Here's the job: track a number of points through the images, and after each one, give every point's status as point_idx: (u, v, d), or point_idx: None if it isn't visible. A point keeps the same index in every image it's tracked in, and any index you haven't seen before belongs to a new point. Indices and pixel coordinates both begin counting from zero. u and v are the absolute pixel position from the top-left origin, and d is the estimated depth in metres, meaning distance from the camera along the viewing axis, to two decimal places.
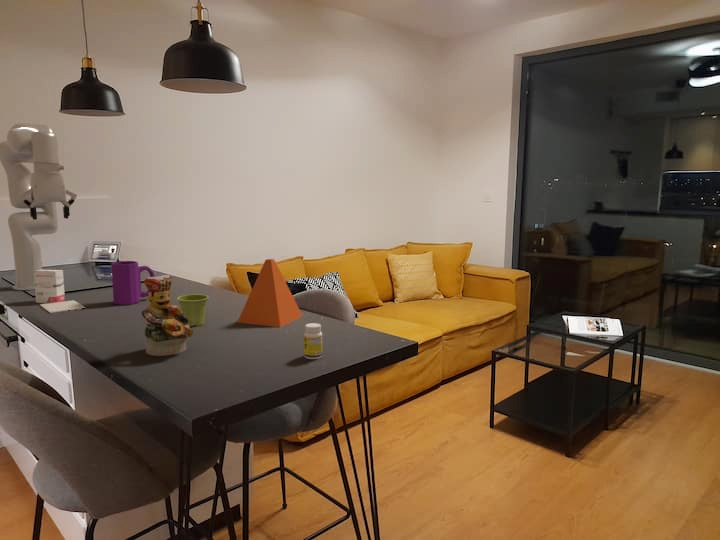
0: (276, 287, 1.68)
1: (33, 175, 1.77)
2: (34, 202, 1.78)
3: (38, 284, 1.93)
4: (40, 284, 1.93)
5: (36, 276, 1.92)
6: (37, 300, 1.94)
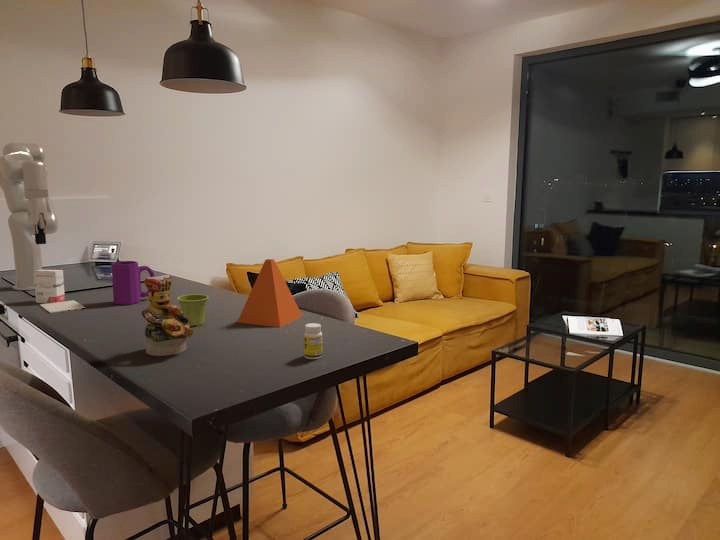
0: (276, 287, 1.68)
1: (43, 201, 1.94)
2: None
3: (38, 284, 1.93)
4: (40, 284, 1.93)
5: (36, 276, 1.92)
6: (37, 300, 1.94)
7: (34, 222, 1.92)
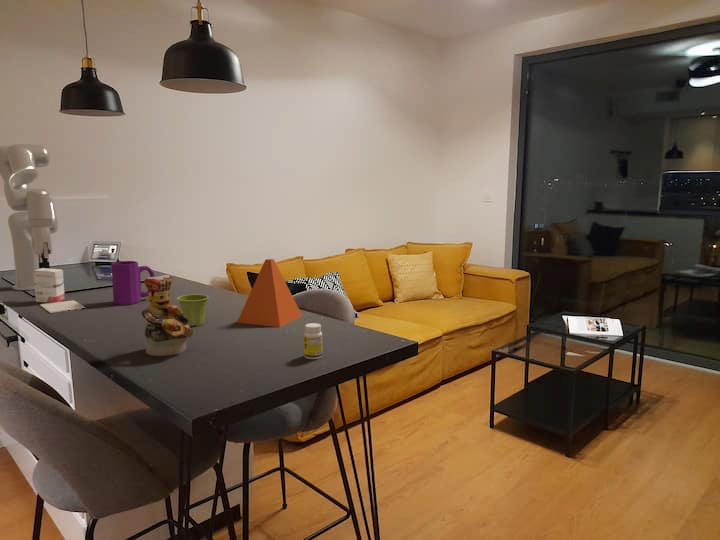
0: (275, 287, 1.68)
1: (47, 230, 1.93)
2: None
3: (38, 284, 1.92)
4: (40, 283, 1.92)
5: (36, 276, 1.92)
6: (37, 299, 1.94)
7: (38, 252, 1.92)
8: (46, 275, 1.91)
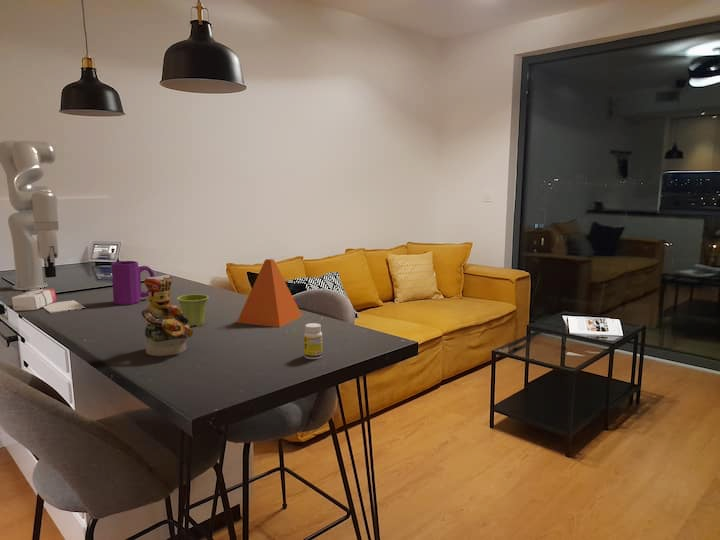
0: (275, 287, 1.68)
1: (53, 233, 1.87)
2: None
3: None
4: None
5: None
6: None
7: (44, 256, 1.86)
8: None
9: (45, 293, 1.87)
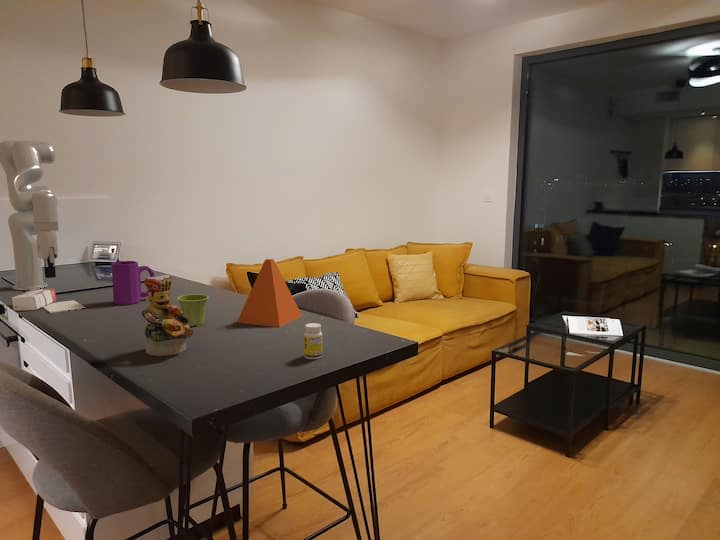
0: (275, 287, 1.68)
1: (53, 234, 1.87)
2: None
3: None
4: None
5: None
6: None
7: (44, 256, 1.86)
8: None
9: (45, 293, 1.87)
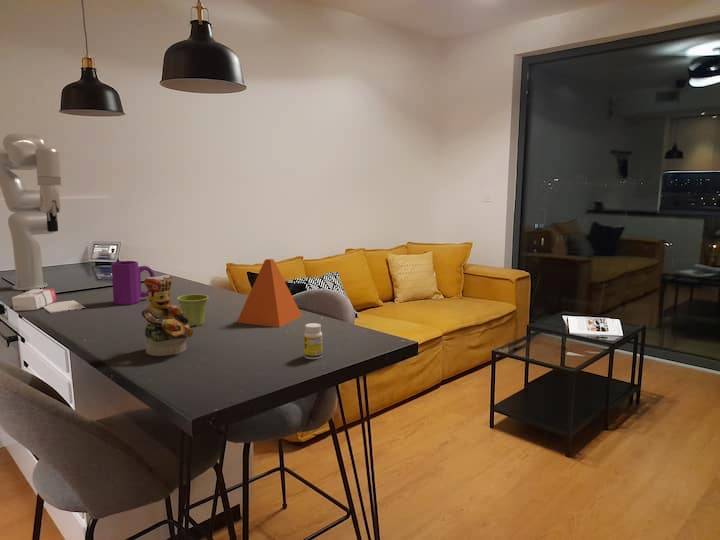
0: (275, 287, 1.68)
1: (56, 188, 1.93)
2: None
3: None
4: None
5: None
6: None
7: (47, 209, 1.91)
8: None
9: (45, 293, 1.87)
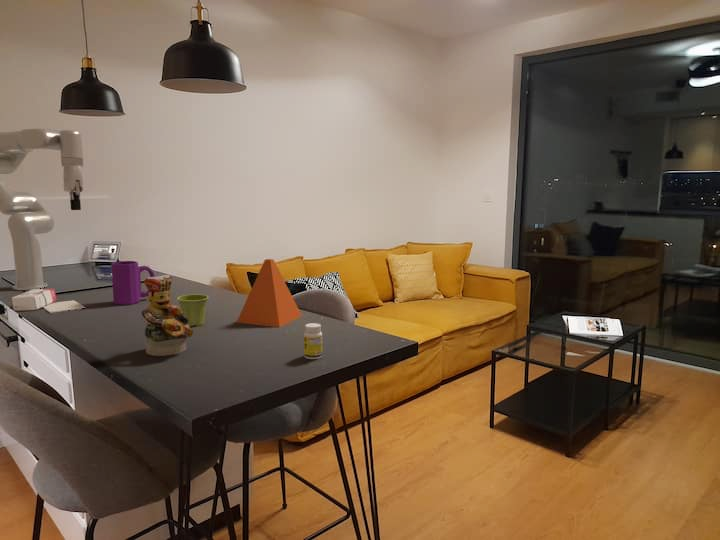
0: (275, 287, 1.68)
1: (79, 168, 2.04)
2: None
3: None
4: None
5: None
6: None
7: (71, 188, 2.03)
8: None
9: (45, 293, 1.87)
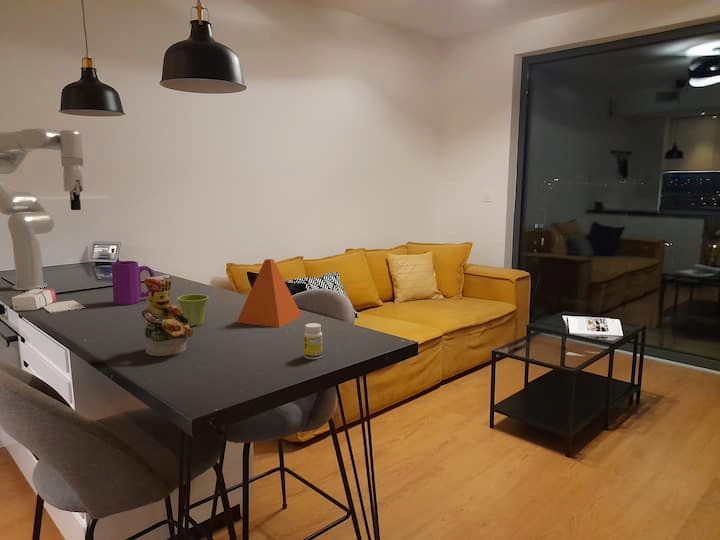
0: (275, 287, 1.68)
1: (79, 168, 2.04)
2: None
3: None
4: None
5: None
6: None
7: (71, 188, 2.03)
8: None
9: (45, 293, 1.87)
